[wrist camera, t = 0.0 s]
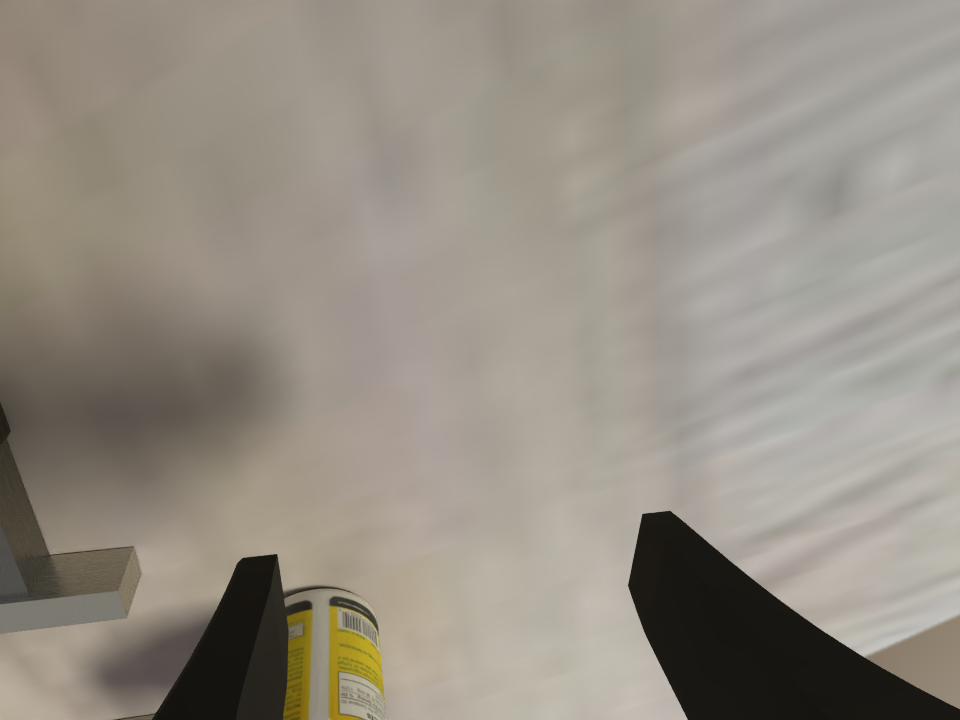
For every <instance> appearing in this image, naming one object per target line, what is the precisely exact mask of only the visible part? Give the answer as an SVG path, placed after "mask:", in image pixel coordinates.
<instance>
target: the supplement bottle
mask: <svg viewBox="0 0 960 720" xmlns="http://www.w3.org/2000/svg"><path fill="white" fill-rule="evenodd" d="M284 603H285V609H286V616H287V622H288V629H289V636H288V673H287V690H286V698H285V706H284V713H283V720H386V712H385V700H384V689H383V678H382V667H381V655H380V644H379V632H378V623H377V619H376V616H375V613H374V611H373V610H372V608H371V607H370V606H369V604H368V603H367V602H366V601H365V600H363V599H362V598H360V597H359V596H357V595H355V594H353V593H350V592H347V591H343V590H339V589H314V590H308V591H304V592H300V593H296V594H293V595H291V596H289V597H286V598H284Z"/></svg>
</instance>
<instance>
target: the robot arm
mask: <svg viewBox="0 0 960 720" xmlns="http://www.w3.org/2000/svg"><path fill="white" fill-rule="evenodd" d="M628 587H629V590H630V593H631V596H632V599H633V602H634V604H635V607H636V610H637V613H638V616H639V619H640V621H641V624H642V627H643V629H644V632H645V634H646V637H647V639H648V641H649V643H650V645H651V647H652V649H653V651H654V653H655V655H656V657H657V659H658V661H659V663H660V665H661V667H662V669H663V671H664V673H665V675H666V677H667V679H668V681H669V683H670V685H671V687H672V689H673V691H674V693H675V695H676V697H677V699H678V701H679V703H680V705H681V707H682V709H683V711H684V713H685V715H686V717H687V719H688V720H960V709H958V708H956V707H954V706H952V705H950V704H948V703H946V702H944V701H942V700H940V699H938V698H936V697H934V696H932V695H930V694H928V693H926V692H925V691H922V690H921V689H919V688H917V687H915V686H913V685H912V684H910V683H908V682H906V681H904V680H903V679H901V678H899V677H897V676H895V675H894V674H892V673H890V672H888V671H887V670H885V669H883V668H881V667H879V666H878V665H876V664H874V663H873V662H871V661H869V660H868V659H866V658H864V657H863V656H861V655H859V654H858V653H856V652H855V651H853V650H852V649H850V648H848V647H847V646H845V645H844V644H842V643H841V642H839V641H837V640H836V639H834V638H833V637H831V636H830V635H828V634H827V633H825V632H824V631H822V630H821V629H819V628H818V627H816V626H815V625H813V624H812V623H810V622H809V621H808V620H806V619H805V618H803V617H802V616H801V615H799V614H798V613H796V612H795V611H794V610H792V609H791V608H790V607H788V606H787V605H786V604H784V603H783V602H781V601H780V600H779V599H777V598H776V597H775V596H773V595H772V594H771V593H769V592H768V591H767V590H766V589H764V588H763V587H762V586H760V585H759V584H758V583H757V582H755V581H754V580H753V579H752V578H750V577H749V576H748V575H747V574H745V573H744V572H743V571H742V570H740V569H739V568H738V567H737V566H736V565H734V564H733V563H732V562H731V561H729V560H728V559H727V558H726V557H725V556H723V555H722V554H721V553H720V552H719V551H717V550H716V549H715V548H714V547H713V546H712V545H710V544H709V543H708V542H707V541H706V540H704V539H703V538H702V537H701V536H700V535H699V534H697V533H696V532H695V531H694V530H693V529H692V528H690V527H689V526H688V525H687V524H686V523H684V522H683V521H682V520H681V519H680V518H678V517H677V516H676V515H675V514H673V513H672V512H671V511H665V512H656V513H647V514H642V519H641V524H640V529H639V534H638V539H637V544H636V549H635V554H634V559H633V564H632V569H631V574H630V579H629V584H628ZM288 636H289V629H288V622H287V616H286V609H285V603H284V596H283V589H282V583H281V576H280V569H279V563H278V556H277V554H274V555H265V556H256V557H247V558H242V559H241V560H240V561H239V562H238V563H237V565H236V568H235V570H234V573H233V575H232V577H231V580H230V582H229V584H228V586H227V589H226V591H225V593H224V595H223V597H222V599H221V601H220V603H219V605H218V607H217V609H216V611H215V613H214V615H213V617H212V619H211V621H210V623H209V625H208V627H207V629H206V630H205V632H204V634H203V636H202V638H201V639H200V641H199V643H198V645H197V647H196V648H195V650H194V652H193V654H192V656H191V657H190V659H189V661H188V663H187V664H186V666H185V668H184V669H183V671H182V673H181V674H180V676H179V677H178V679H177V681H176V682H175V684H174V685H173V687H172V689H171V690H170V692H169V693H168V695H167V697H166V698H165V700H164V701H163V703H162V705H161V706H160V708H159V709H158V711H157V712H156V714H155V715H154V717H153V718H152V720H283V713H284V706H285V698H286V690H287V673H288Z"/></svg>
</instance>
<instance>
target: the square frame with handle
mask: <svg viewBox="0 0 960 720" xmlns="http://www.w3.org/2000/svg"><path fill="white" fill-rule="evenodd" d="M10 432H11V431H10V428H9V425H8V423H7V420H6V417H5V414H4V412H3V409H2V406H1V404H0V634H1V633H10V632H18V631H26V630H34V629H42V628H50V627H59V626H67V625H75V624H83V623H91V622H100V621H108V620H116V619H124V618H127V616H128V613H129V610H130V607H131V604H132V601H133V598H134V595H135V592H136V589H137V585H138V582H139V579H140V576H141V571H140V567H139V564H138V560H137V557H136V553H135V550H134V547H129V548H120V549H110V550H100V551H91V552H81V553H72V554H62V555H52V556H50V555H49V552H48V550H47V547H46V544H45V542H44V539H43V536H42V533H41V531H40V528H39V525H38V523H37V520H36V517H35V515H34V512H33V509H32V507H31V504H30V501H29V499H28V496H27V493H26V491H25V488H24V485H23V483H22V480H21V477H20V475H19V472H18V469H17V467H16V464H15V461H14V459H13V456H12V453H11V451H10V448H9V445H8V443H7V440H6V438H7V436H8V435H9V433H10ZM153 717H154V715H149V716H142V717H135V718H128V719H122V720H152V718H153Z"/></svg>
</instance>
